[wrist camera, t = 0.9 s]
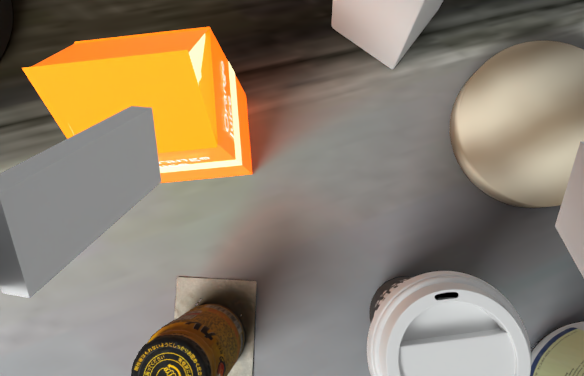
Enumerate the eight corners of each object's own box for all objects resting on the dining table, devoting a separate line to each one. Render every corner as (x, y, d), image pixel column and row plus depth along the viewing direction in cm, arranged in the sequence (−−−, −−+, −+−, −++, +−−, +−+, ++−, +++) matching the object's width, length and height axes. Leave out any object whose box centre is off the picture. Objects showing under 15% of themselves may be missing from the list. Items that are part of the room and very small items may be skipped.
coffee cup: (473, 274, 41) (562, 299, 26) (448, 383, 40) (526, 473, 25) (366, 246, 41) (392, 254, 26) (340, 353, 41) (352, 423, 26)
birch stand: (422, 94, 42) (430, 84, 39) (562, 28, 42) (581, 13, 39) (494, 234, 41) (508, 234, 38) (640, 166, 41) (665, 161, 38)
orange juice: (154, 103, 44) (17, -5, 24) (246, 93, 43) (185, -24, 23) (159, 185, 43) (21, 144, 23) (253, 176, 43) (196, 127, 23)
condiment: (171, 372, 41) (111, 429, 29) (177, 276, 42) (121, 294, 30) (252, 378, 41) (224, 438, 29) (257, 280, 42) (232, 300, 30)
